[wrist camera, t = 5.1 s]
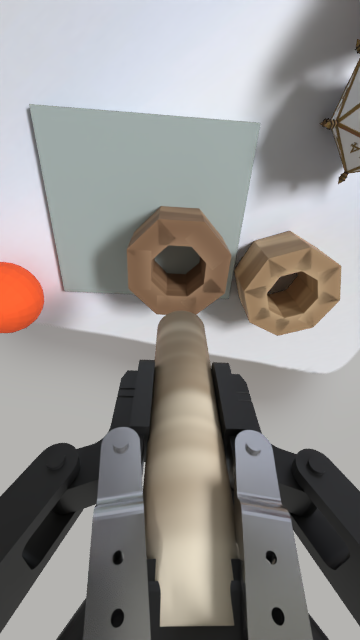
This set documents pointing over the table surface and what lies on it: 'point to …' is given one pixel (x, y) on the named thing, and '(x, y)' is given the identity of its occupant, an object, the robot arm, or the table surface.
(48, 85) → the table surface
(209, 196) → the grey mat
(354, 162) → the game die
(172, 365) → the birch peg
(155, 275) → the walnut bead
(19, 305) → the clementine
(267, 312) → the oak bead
